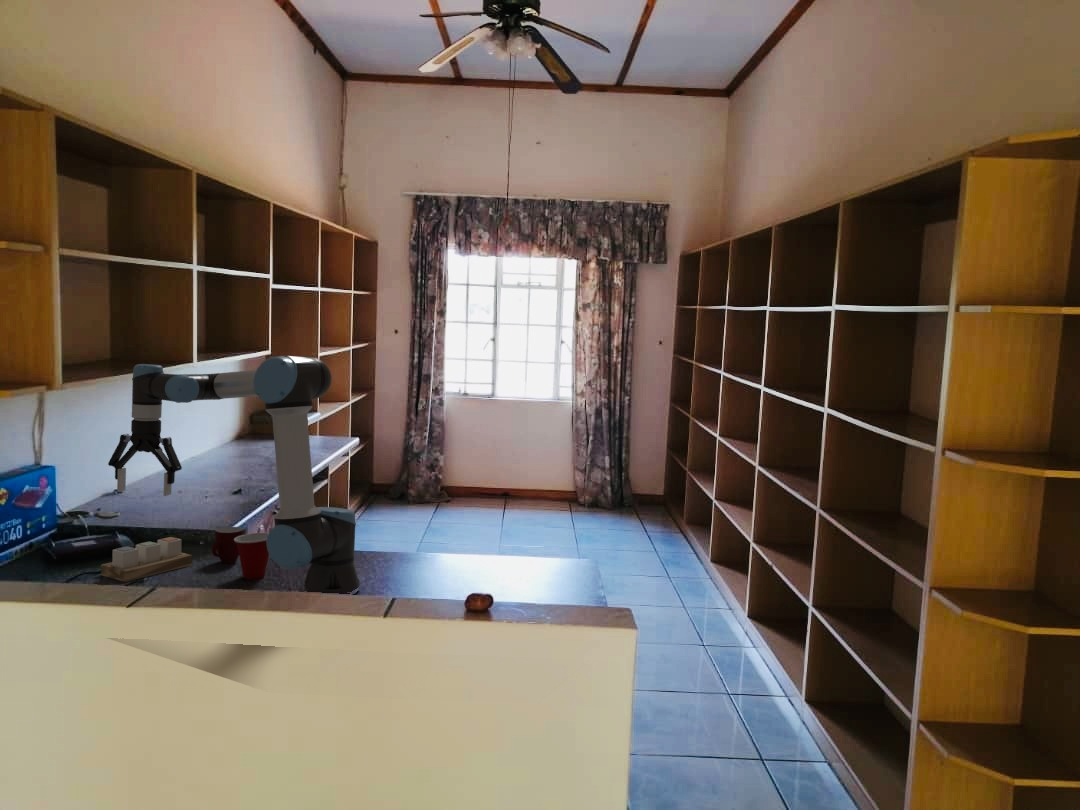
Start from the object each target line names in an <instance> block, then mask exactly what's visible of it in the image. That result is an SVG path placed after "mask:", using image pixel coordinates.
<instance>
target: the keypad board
mask: <svg viewBox="0 0 1080 810" xmlns="http://www.w3.org/2000/svg"><path fill="white" fill-rule="evenodd" d="M192 565H193V555H192V554H189V553H185V552H181V555H178V556H174V557H170V558H164V557H160V560H158V561H154V562H150V563H146V564H145V563H141V562H138V565H137V566H133V567H129V568H125V569H120V568H116V567H112V562H111V561H110V562H107V563H102V564H101V565H100V574H101V575H100V576H103V577H107V578H110V579H113V580H118V581H122V582H125V583H128V582H131V581H137V580H139V579H143V578H146V577H151V576H155V575H159V574H162V573H166V572H169V571H173V570H178V569H181V568H185V567H190V566H192Z"/></svg>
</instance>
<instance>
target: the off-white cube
mask: <svg viewBox="0 0 1080 810" xmlns="http://www.w3.org/2000/svg"><path fill="white" fill-rule="evenodd" d="M111 559H112V567H116V568H120V569H125V568H129V567H133V566H137V565H138V549H136V547H132V546H122V547H118V548H117V547H116V548H115V549H112V558H111Z"/></svg>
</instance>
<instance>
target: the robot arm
mask: <svg viewBox="0 0 1080 810" xmlns="http://www.w3.org/2000/svg"><path fill="white" fill-rule="evenodd" d="M132 372H133V373H132V378H131V379H132V390H131V391H132V394H131V395H132V399H131V400H132V401H131V418H133V419H132V420H131V424H130V426H131V427H130V428H131V435H130V434H129V433H123V434H120V436H119V442H118V444H117V446H116V448H115V450H114V451H113V453H112V455H111V457H110V458H109V461H108V463H107V465H108V467H113V468H114V471H115V472H114V479H115V480H116V481H117V484H116V485H117V486H116V487H117V489H116V492H117V493H122V492H125V491H126V479H127V468H126V467H125V465H126V464H127V463H128V462H129V461H130V459H132V457H134V456H135V454H137V452H140V453H141V452H145V453H151V454H152V455H154V456H155V458H156V459H157V460H158V462H159V463H160V464H161V466H162V467H163V469H164V470H165V471H166V472H164V473H163V496H164V497H168V496H170V495H172V485H173V484H174V483H175V476H176V475H175V474H176V472H179V471H181V470H182V469H183V466H182V464H181V462H180V460H179V458H178V455H177V454H176V451H175V448H174V446H173V440H172V437H171V436H168V437H161V432H162V420H161V418H162V412H163V411H162V410H163V409H162V408H163V407H162V406H163V401H168V402H172V403H173V402H175V403H176V404H180V403H181V404H183V403H186V404H188V403H192V402H193V401H194V402H195V401H211V400H212V401H215V400H216V401H218V400H224V399H225V400H226V399H237V398H238V399H239V398H252V397H258V398H259V400H260V401H262V402H264V407H265V409H264V410H265V412H266V413H268V414H269V415H270V416H271V417H272V428H273V440H274V443H273V444H274V452H275V453H274V455H275V465H276V466H275V467H276V475H277V476H276V477H277V478H276V479H277V488H278V502H279V510H278V511H277V512H276V514H275V515H273V517H274V527H272V528H271V529H270V531H269V532H268V533H269V534H268V536H267V541H266V544H267V550H268V552H269V556H270V558H271V560H273V562H275V563H276V564H277V565H278V566H279V567H281V568H283V569H287V570H294V569H298V568H304V567H306V566H308V565H309V567H308V569H307V572H306V575H305V576H306V577H305V580H304V581H303V584H302V585H303V587H302V592H303V591H307V592H322V593H339V594H350V593H347V592H352V591H353V590H355V589H357V588H358V587H359V586H361V583H360V582H361V581H360V579H359V578H358V572H357V568H356V565H355V544H356V542H355V539H356V525H357V523H356V514H355V512H354V511H353V510H352V509H349V508H341V507H331V506H319V507H318V506H316V505H315V493H314V482H313V471H312V459H311V458H312V457H311V446H310V445H311V444H310V443H311V442H310V432H309V423H308V422H309V421H308V413H309V412H310V411H311V409H313V400H317V399H319V398H322V397H323V396H324V395H326V394H327V392H328V391H329V390H330V388H331V384H332V381H333V379H332V377H333V376H332V372H331V370H330V368H329V366H328V365H327V364H326V363H325V362H324V361H323V360H321V359H319V358H317V357H313V356H295V355H294V356H293V355H292V356H291V355H280V356H272V357H268V358H266V359H265V360H264V361H262V362H261V363H260V364H259V366H258V367H257V368H256V369H250V370H241V371H239V370H238V371H231V372H217V373H215V372H214V373H205V374H204V373H203V374H202V373H201V374H198V373H196V374H195V373H193V374H192V373H191V374H188V373H187V374H185V373H184V374H177V373H176V374H175V373H172V374H171V373H165V372H164V368H163V366H162V365H159V364H147V363H140V364H139V363H138V364H136V365H134V367H133V370H132ZM130 442H131V443H132V445H131V446H130V447H128V450H127V451H126V452H125V450H126V449H127V446H128V444H129V443H130ZM160 444H161V445H162V447H163V448H162V447H161V446H160ZM163 449H164V451H163ZM164 452H165V453H166V454H165V453H164ZM123 454H124V455H123Z"/></svg>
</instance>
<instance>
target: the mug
mask: <svg viewBox="0 0 1080 810" xmlns="http://www.w3.org/2000/svg"><path fill="white" fill-rule="evenodd" d="M214 530H215V531H214V532H215V533H214V539H215V541H214V543H213V544H212V548H211V552H212V555H213V556H214V557H216V558H219V560H220V561H221V563H222V564H234V563H236V562H237V560H238V559H239V558H240V556H239V551H238V547H237V544H236V542H235V541H234V539H235V538H236V537H238V536H241V535H245V534H244V528H243V527H240V526H222V527H219V528H216V529H214Z"/></svg>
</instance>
